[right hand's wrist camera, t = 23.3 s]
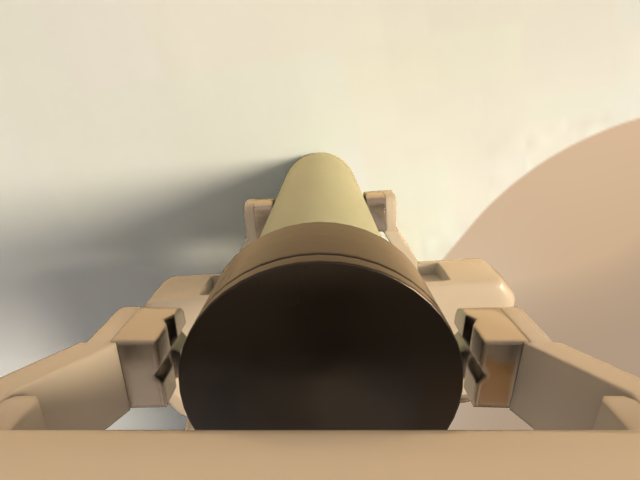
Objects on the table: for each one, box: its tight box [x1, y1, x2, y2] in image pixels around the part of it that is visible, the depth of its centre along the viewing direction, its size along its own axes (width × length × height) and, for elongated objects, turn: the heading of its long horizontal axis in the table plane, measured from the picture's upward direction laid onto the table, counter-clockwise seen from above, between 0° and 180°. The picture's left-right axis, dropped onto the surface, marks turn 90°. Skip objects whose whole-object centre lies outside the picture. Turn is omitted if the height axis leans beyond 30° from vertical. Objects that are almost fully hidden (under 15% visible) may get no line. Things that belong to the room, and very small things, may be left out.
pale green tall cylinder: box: [260, 153, 381, 237], centre depth 17 cm, size 5×5×18 cm
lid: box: [178, 222, 464, 430], centre depth 9 cm, size 6×6×2 cm
